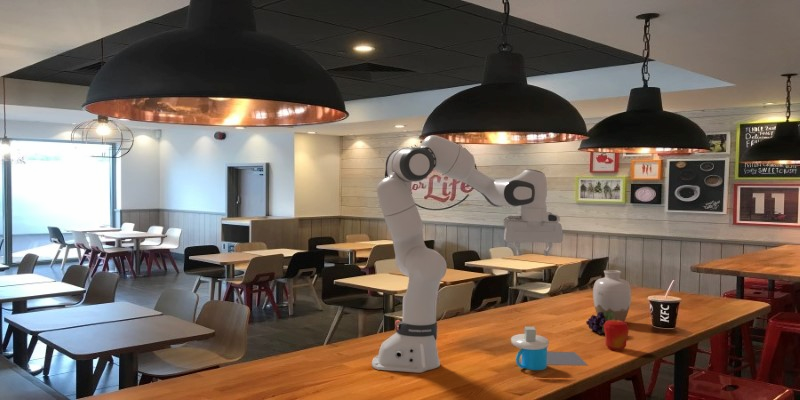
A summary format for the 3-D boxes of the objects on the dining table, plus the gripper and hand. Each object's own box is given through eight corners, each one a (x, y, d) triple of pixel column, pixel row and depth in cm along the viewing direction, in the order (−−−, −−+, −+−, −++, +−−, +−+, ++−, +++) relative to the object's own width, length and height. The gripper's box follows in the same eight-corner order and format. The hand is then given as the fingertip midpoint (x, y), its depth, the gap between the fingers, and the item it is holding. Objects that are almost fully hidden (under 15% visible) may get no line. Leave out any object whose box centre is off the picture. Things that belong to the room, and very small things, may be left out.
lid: (514, 349, 194) (515, 334, 193) (507, 336, 205) (508, 322, 205) (552, 349, 194) (553, 334, 193) (543, 336, 205) (544, 322, 205)
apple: (633, 350, 224) (633, 318, 223) (616, 353, 220) (617, 320, 219) (614, 345, 231) (615, 313, 231) (598, 347, 227) (599, 315, 227)
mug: (533, 360, 206) (534, 336, 205) (551, 368, 200) (552, 343, 199) (507, 367, 200) (507, 343, 199) (525, 376, 193) (526, 351, 192)
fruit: (595, 336, 256) (628, 334, 245) (580, 336, 249) (614, 333, 239) (592, 312, 259) (624, 308, 248) (577, 310, 252) (610, 307, 241)
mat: (539, 366, 203) (539, 364, 203) (529, 352, 219) (529, 351, 219) (588, 367, 203) (588, 365, 203) (574, 353, 219) (574, 351, 219)
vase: (632, 321, 272) (634, 270, 271) (628, 328, 258) (629, 274, 257) (595, 317, 279) (597, 267, 279) (589, 324, 265) (590, 271, 265)
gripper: (505, 216, 212) (504, 256, 213) (564, 216, 212) (563, 256, 213) (502, 215, 219) (501, 253, 219) (559, 215, 219) (559, 254, 219)
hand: (532, 255), depth 216 cm, fingers open, 8 cm apart
